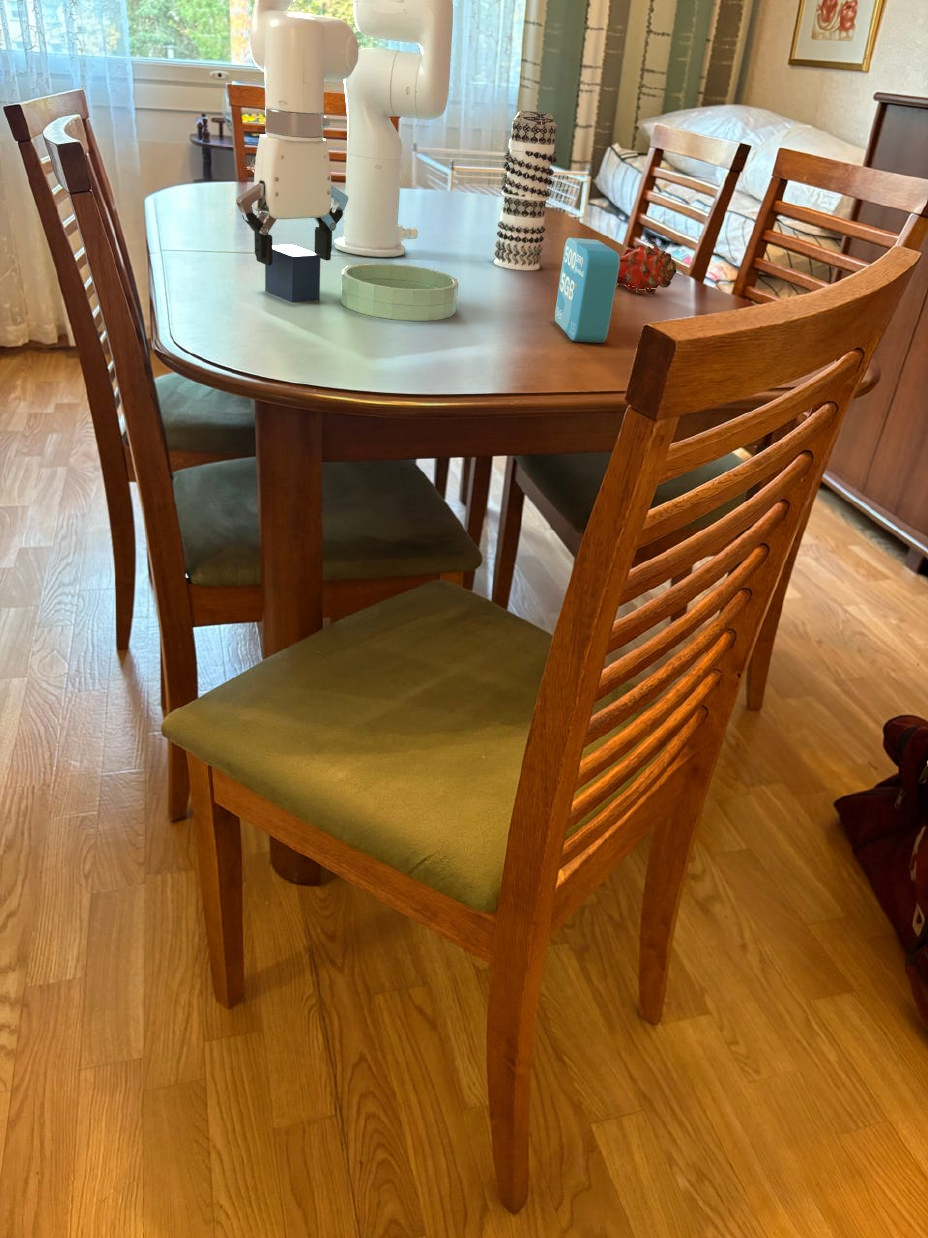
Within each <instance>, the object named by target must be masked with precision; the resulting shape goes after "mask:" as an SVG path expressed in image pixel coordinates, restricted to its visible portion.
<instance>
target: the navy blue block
mask: <svg viewBox="0 0 928 1238" xmlns="http://www.w3.org/2000/svg"><path fill="white" fill-rule="evenodd" d="M272 248H273V263H272V265H265V264H264V291H265V292H266V293H268V294H271V295H273V296H275V297H278V298H280V299H282V300H285V301H287V302H290V303H302V302H303V303H304V302H315V301H320V294H321V293H320V292H321V255H319V254H316V253H315V251H314V252H313V251H311V250H308V249H306V248H303V247H300V246H297V245H294V244H279V245H277V244H276V245H272Z"/></svg>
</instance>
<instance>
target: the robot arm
mask: <svg viewBox="0 0 928 1238" xmlns="http://www.w3.org/2000/svg"><path fill="white" fill-rule="evenodd" d="M294 2H296V0H254V3H253V7H252V12H251V17H250V22H249V30H248V49H249V53H250V57H251V59H252V61H253V63H254V65H255V66H256V67H257V68H258V69H259V70H260V71H261V72H264V105H265V111H264V112H265V113H264V114H265V115H264V116H265V120H264V121H265V134H259V138H258V141H257V142H258V143H257V148H256V155H255V157H256V159H255V160H254V161H255V162H254V165H255V167H254V171H255V173H254V172H253V174H254V175H253V186H252V187H251V188H249V189H248V190H246V191H245V192H243V193H242V194H240V195H239V196H238V197H236V199H235V204H236V205H237V207H238V210H239V212H240V214H241V217H242V219H243V221H244V222H245V223H246V224H247V225H248V226H249V227H250V230H251V231H253V233H254V235H253V236H254V255H255V259H256V261H257V263H261V264H263V265H264V266H265V265H272V263H273V248H272V246H273V236H272V234H270V233H269V232H270V231H271V229H272V227H273V226H274V225H275V223H276V221H277V220H300V219H302V220H303V219H314V220H315V222H316V223H317V224H318V226H315V229H314V253H316V254H319V255H321V258H320V260H321V259H322V260H324V261H327V262H328V261H331V260H332V251H333V232H334V231H336V229H337V224H338V223H339V222H340V221H341V219H342V218H343V215H344V220H343V222H344V223H343V237H339V238H337V239H335V240H334V247H335V249H336V250H338V251H341V252H344V253H346V254H351V255H357V256H364V257H373V258H395V257H400V256H403V255H404V254H405V250H406V247H405V245H403V244H402V242H404V241H405V240H416V239H417V238H418V236H419V232H418V229H417V228H415V227H406V228H404V226H403V225H401V224H399V213H400V212H399V211H400V196H401V180H402V165H403V143H402V139H401V136H400V134H399V132H398V130H397V129H396V126H395V125H394V124H393V122H392V120H391V118H390V117H400V118H410V119H415V120H416V119H417V120H425V121H427V120H428V121H432V120H438V119H439V118H441V117H442V116H443V114H444V113H445V111H446V108H447V105H448V100H449V94H450V93H449V92H450V79H451V77H450V76H451V62H452V61H451V60H452V41H453V28H454V27H453V25H454V20H453V19H454V3H453V2H454V1H453V0H353V16H354V17H353V18H354V22H355V23H354V24H355V26H356V28H357V30H358V31H359V33H361V34H362V35H364V36H366V37H369V38H374V39H379V40H385V41H393V42H402V43H409V44H416V45H418V47H419V48H420V52H421V53H420V52H412V51H402V50H398V49H391V48H390V49H389V48H381V47H362V48H359V43H358V39H357V35H356V33H355V31H354V29H353V28H352V27H351V25H349V23H348V22H345V20H343V19H341V18H338V17H334V16H324V15H319V14H318V15H317V14H312V13H304V12H295V11H287V10H288V9H289V7H290V6H291V5H292V4H293V3H294ZM325 82H328V83H339V82H343V84H344V85H343V86H344V93H345V94H344V95H345V105H346V116H347V117H346V118H347V119H346V120H347V125H346V126H347V135H346V137H347V138H346V139H347V140H346V141H347V142H346V163H345V164H346V167H345V193H344V192H343V191H341V190H339V189H338V188H336V187H335V186H333V185H332V172H331V160H330V153H329V147H328V146H329V145H328V141H327V139H326V138H324V133H325V132H324V131H325V130H324V129H327V128H329V127H330V125H331V120H330V118H329V117H328V116H325V113H324V112H325V111H324V108H325V107H324V106H325V105H324V104H325V103H324V102H325V100H324V99H325ZM332 199H333V206H332ZM253 208H254V209H253ZM254 210H255V211H256V212H257V214H255V212H254Z"/></svg>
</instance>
